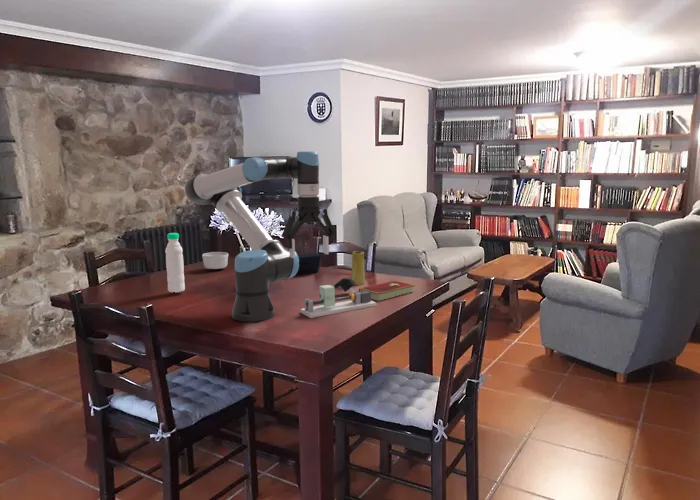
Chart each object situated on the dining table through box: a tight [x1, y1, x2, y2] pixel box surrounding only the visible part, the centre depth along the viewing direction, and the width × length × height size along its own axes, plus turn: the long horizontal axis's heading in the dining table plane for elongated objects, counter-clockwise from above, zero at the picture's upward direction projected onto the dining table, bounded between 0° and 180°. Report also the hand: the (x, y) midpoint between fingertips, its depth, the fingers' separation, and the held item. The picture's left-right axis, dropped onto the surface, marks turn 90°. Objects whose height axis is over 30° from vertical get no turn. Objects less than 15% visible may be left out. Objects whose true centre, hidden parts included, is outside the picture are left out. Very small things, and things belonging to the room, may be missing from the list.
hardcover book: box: [358, 280, 416, 302], centre depth 225 cm, size 12×21×4 cm, turn 132°
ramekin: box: [201, 251, 229, 270], centre depth 285 cm, size 13×13×7 cm
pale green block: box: [318, 284, 336, 307], centre depth 201 cm, size 4×4×7 cm
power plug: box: [332, 277, 356, 294], centre depth 227 cm, size 6×8×12 cm
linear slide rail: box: [300, 290, 377, 319], centre depth 204 cm, size 28×8×6 cm, turn 121°
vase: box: [351, 250, 366, 286], centre depth 244 cm, size 6×6×14 cm
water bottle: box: [164, 232, 186, 293], centre depth 233 cm, size 7×7×25 cm
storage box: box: [296, 252, 321, 275], centre depth 270 cm, size 21×16×10 cm
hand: (309, 255), depth 195 cm, fingers open, 13 cm apart
